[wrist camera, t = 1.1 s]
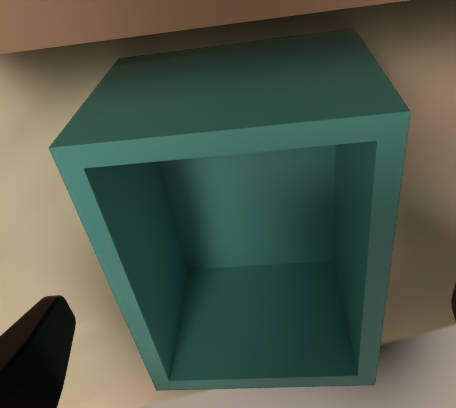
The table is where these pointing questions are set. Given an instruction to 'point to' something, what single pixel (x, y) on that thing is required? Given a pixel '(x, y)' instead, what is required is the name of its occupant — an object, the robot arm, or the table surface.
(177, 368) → the teal crate
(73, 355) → the table surface
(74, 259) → the table surface
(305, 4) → the box
